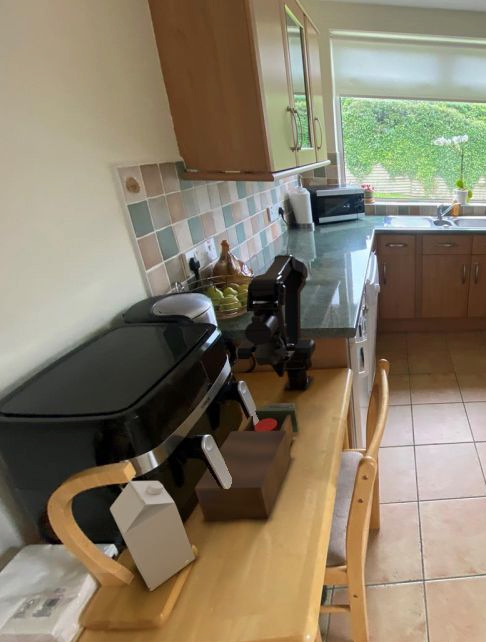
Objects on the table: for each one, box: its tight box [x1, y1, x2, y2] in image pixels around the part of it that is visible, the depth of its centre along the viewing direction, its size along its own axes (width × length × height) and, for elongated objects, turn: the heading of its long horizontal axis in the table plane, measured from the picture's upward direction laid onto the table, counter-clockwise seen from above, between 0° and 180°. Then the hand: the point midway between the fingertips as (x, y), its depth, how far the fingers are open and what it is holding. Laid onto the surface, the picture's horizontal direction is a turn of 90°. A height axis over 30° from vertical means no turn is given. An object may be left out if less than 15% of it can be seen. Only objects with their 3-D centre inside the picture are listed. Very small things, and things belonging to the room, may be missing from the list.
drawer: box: [240, 402, 301, 447], centre depth 92 cm, size 19×11×7 cm, turn 2°
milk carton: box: [109, 480, 196, 592], centre depth 64 cm, size 7×7×19 cm
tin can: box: [255, 418, 278, 431], centre depth 92 cm, size 5×5×6 cm
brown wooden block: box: [194, 430, 292, 521], centre depth 81 cm, size 16×13×9 cm
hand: (281, 376), depth 101 cm, fingers closed
